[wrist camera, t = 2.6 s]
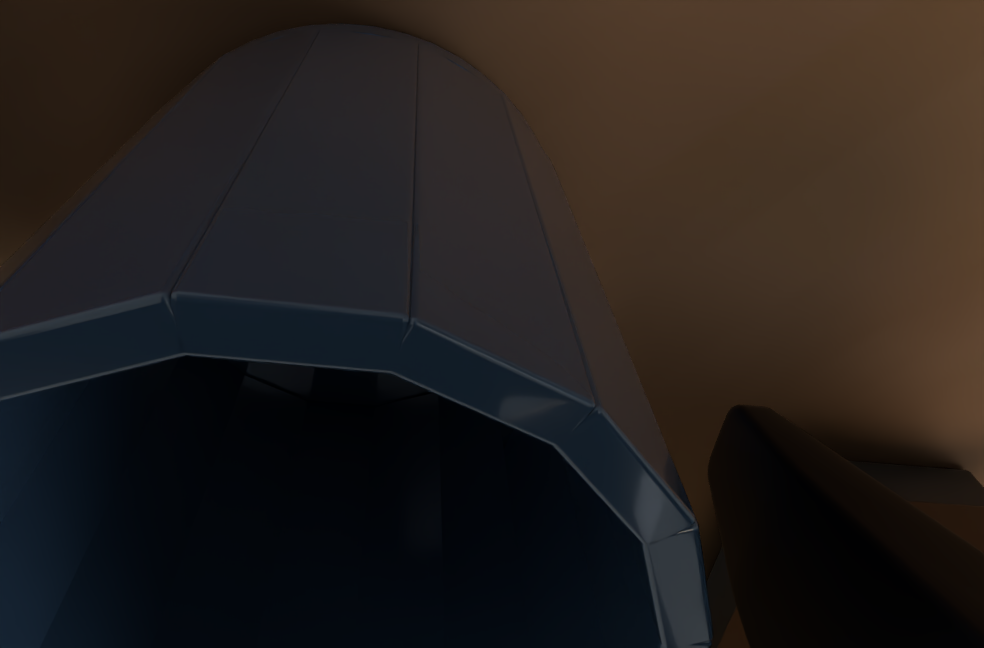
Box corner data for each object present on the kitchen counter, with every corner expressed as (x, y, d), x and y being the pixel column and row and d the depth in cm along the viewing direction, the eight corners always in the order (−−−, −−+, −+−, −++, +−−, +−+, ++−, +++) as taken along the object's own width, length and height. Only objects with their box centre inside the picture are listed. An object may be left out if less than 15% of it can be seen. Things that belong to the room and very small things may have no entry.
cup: (519, 414, 14) (600, 892, 8) (154, 384, 13) (-103, 897, 7) (599, 58, 11) (846, 360, 4) (126, -13, 10) (-400, 236, 4)
